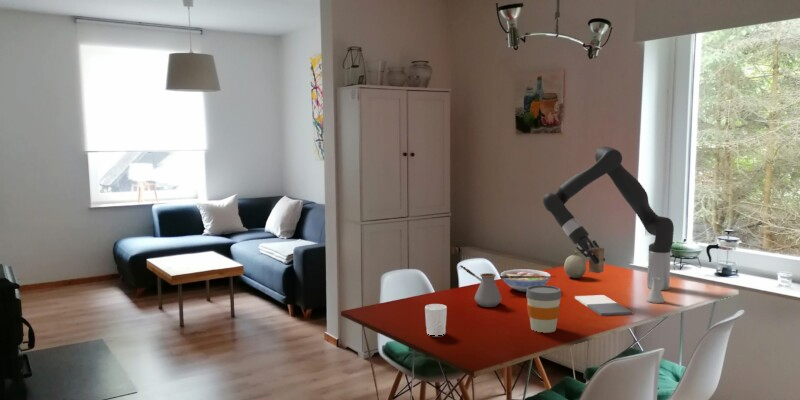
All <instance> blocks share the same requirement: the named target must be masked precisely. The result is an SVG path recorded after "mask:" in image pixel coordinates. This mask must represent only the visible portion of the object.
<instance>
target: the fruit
mask: <svg viewBox="0 0 800 400" xmlns="http://www.w3.org/2000/svg"><path fill="white" fill-rule="evenodd" d="M563 248H564V249H568V250H570V251H573V252H574V253H575V254H572V255H569V256H568V257H567V258H566V259H565V261H564V264H563V266H564V267H563V269H564V272H565V274H566V275H567V276H568V277H569V278H571V279H580V278H582V277H583V276H584V275H585V273H586V272H587V263H586V261H585V259H584V257H582V256H580V255H578V253H579V254H582V253H581V252H580V251H579V250H575V249H573V248H569V247H565V246H564V247H563ZM586 258H587V259H589V257H586Z"/></svg>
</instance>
